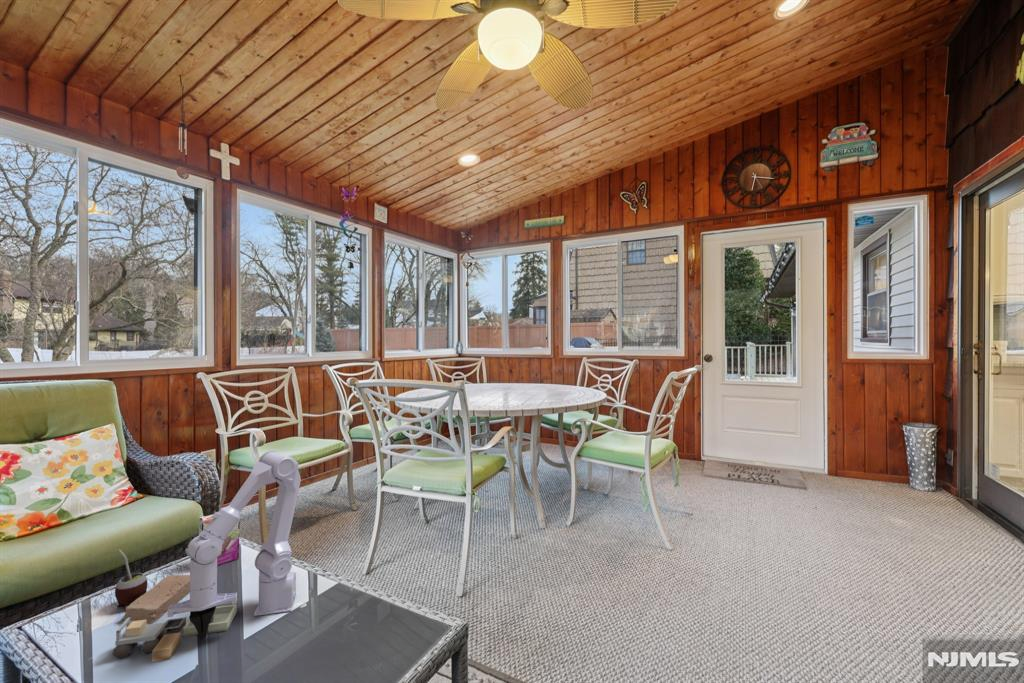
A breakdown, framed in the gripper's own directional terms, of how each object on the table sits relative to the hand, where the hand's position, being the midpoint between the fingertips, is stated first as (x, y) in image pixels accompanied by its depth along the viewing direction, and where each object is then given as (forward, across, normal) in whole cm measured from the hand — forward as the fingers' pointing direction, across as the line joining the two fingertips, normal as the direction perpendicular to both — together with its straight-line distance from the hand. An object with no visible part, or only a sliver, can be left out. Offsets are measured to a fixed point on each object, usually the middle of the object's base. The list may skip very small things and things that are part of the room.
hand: (203, 636), depth 113 cm
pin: (0, 0, -7) cm, 7 cm away
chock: (+1, +7, +2) cm, 7 cm away
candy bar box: (+1, +3, -42) cm, 42 cm away
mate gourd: (+1, +22, -25) cm, 33 cm away
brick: (+2, +14, -21) cm, 26 cm away
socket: (+1, +8, -7) cm, 11 cm away
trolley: (+1, +13, -2) cm, 13 cm away
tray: (+1, -1, -6) cm, 7 cm away
